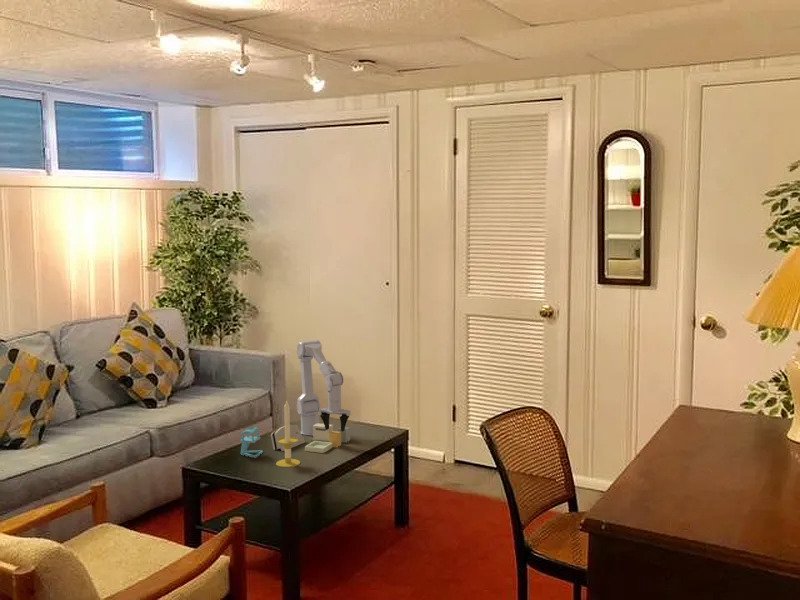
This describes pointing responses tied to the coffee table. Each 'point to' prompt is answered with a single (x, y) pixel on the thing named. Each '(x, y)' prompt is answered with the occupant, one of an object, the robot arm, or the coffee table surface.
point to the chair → (248, 440)
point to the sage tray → (318, 446)
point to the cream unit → (321, 432)
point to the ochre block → (335, 438)
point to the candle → (287, 442)
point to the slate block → (345, 434)
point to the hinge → (281, 434)
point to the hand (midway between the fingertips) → (335, 430)
